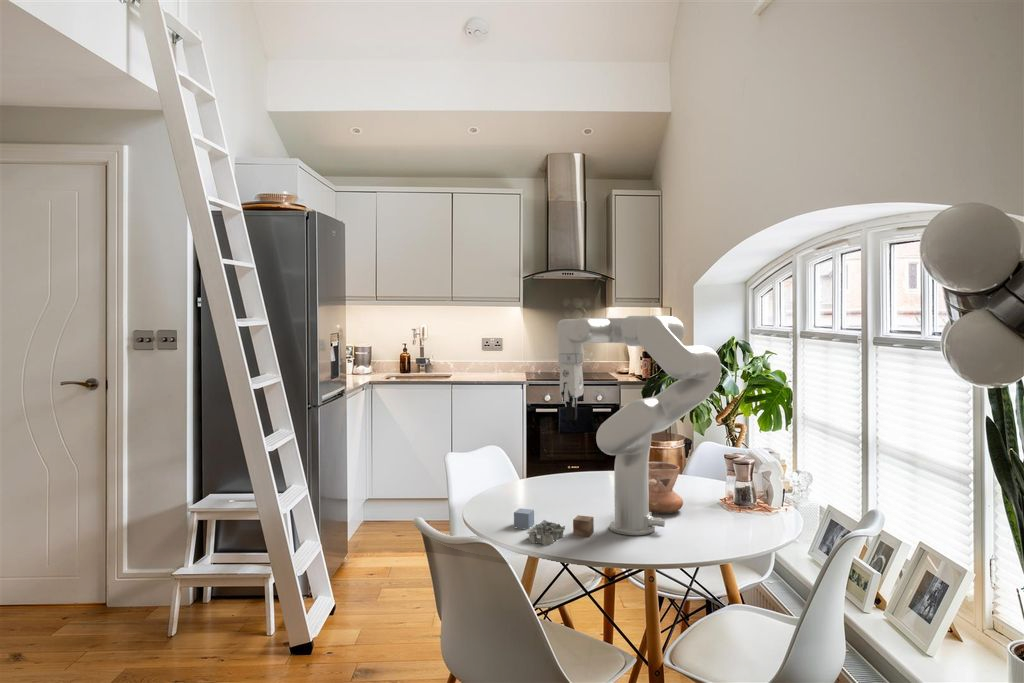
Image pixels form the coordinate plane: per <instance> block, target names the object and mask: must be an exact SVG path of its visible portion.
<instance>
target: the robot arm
mask: <svg viewBox="0 0 1024 683" xmlns="http://www.w3.org/2000/svg"><path fill="white" fill-rule="evenodd" d="M684 336H685V327H684V324H683V322H682V321H681V320H680V319H678V318H677V317H674V316H671V315H656V314H655V315H628V316H627V317H621V318H620V317H615V318H614V317H611V318H610V317H580V318H567V319H565V318H564V319H563V318H562V319H561V320H559V321H558V322H557V345H558V346H557V354H558V355H557V359H558V360H557V361H558V362H557V363H558V366H559V365H560V367H559V368H560V369H559V370H560V371H559V395H560V397H561V398H563V402H564V410H565V411H564V412H565V420H566V421H576V420H577V419H578V406H577V405H578V398H580V397H581V396H583V395H584V393H585V392H584V390H585V389H584V373H583V366H582V365H583V364H584V344H600V343H601V344H604V343H605V344H606V343H609V344H612V343H614V344H619V343H620V344H625V345H627V346H629V347H642V348H643V349H644V350H645V351H646V353H647V354H648V355H649V356H650V357H651V358H652V359H653V360H654V361H655V363H656V364H657V365H658V366H659V367H660V368H661V369H662V370H663V371H664V372H665V374H667V375H668V376H670V377H671V378H673V379H676V381H673V383H671V384H670V385H668V386H667V387H666V388H665V389H663V390H662V391H661V392H659V393H658V394H656V395H654V396H650V397H645V398H640V399H635V400H632V401H630V402H629V403H627V404H625V405H624V406H623V407H622V408H620V409H619V410H617V411H616V412H615V413H613V414H612V415H611V416H610V417H608V418H607V419H606V420H605V421H603V423H601V424H600V426H599V427H598V429H597V431H596V436H595V439H596V444H597V447H598V448H599V450H600V451H601V452H603V453H604V454H606V455H609V456H615V459H614V474H613V475H614V476H613V477H614V479H613V480H614V482H613V483H614V485H613V486H614V492H613V493H614V520H612V521H610V522H609V526H608V528H609V529H610V531H611V532H614V533H616V534H620V535H625V536H643V535H645V536H646V535H649V534H651V533H653V532H655V530H656V529H655V528H656V527H662V528H665V525H666V521H665V520H666V519H663V518H662V517H654V516H652V515H653V513H652V512H649V462H650V461H649V460H650V451H651V450H650V449H651V446H652V434H656V433H661V432H663V431H664V432H665V430H667V429H668V428H670V427H671V426H672V425H674V424H675V423H676V422H678V421H679V420H681V418H683V417H684V416H686V415H687V414H688V413H690V412H692V410H694V409H695V408H696V407H698V406H699V405H700V404H702V403H703V402H705V401H706V400H707V399H708V398H709V397H710V396H711V395H712V394H713V393H714V391H715V390H716V388H717V387H718V385H719V383H720V380H721V376H722V364H721V359H720V356H719V354H718V352H716V351H715V350H713V349H712V348H711V347H708V346H705V345H684V344H683V343H682V342H681V341H682V340H683V338H684Z"/></svg>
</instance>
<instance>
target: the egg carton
mask: <svg viewBox="0 0 1024 683" xmlns="http://www.w3.org/2000/svg"><path fill="white" fill-rule="evenodd" d="M565 530H566V526H565V525H563V526H561V524H560V523H556V522H552V521H548V520H545V519H543V520H542V521H541V522H540V523H538V524H534V526H532V527H531V528H529V529H527V532H526V533H527V535H528V541H529V542H530V543H531V542H532V543H531V544H537V543H536V542H541V543H540V544H543V545H542V546H548V545H547V544H552V545H554V541H553V540H558V541H559V538H564V537H563V536H564V531H565ZM544 532H545V533H544ZM558 537H559V538H558Z"/></svg>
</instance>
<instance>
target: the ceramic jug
mask: <svg viewBox="0 0 1024 683" xmlns="http://www.w3.org/2000/svg"><path fill="white" fill-rule="evenodd" d="M679 474H680V466H678V465H676V464H674V463H671V462H666V461H665V462H664V461H649V512H652V514H656V515H667V514H668V515H669V514H672V513H675V512H678V511H679V510H681V509H682V507H683V505H684V501H683V498H682V497H681V496H680V495H679V494H678V493H676V492H675V491H674V490H673V488H674V487H675V485H676V482H677V479H678V476H679Z"/></svg>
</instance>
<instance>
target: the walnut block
mask: <svg viewBox="0 0 1024 683" xmlns="http://www.w3.org/2000/svg"><path fill="white" fill-rule="evenodd" d="M594 528H595V525H594V516H590V515H589V516H588V515H579V514H578V515H577V516H575V518H573V519H572V531H573V532H572V533H573V534H572V535H573V537H581V538H591V536H592V535H593V534H594V533H595V529H594Z"/></svg>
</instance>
